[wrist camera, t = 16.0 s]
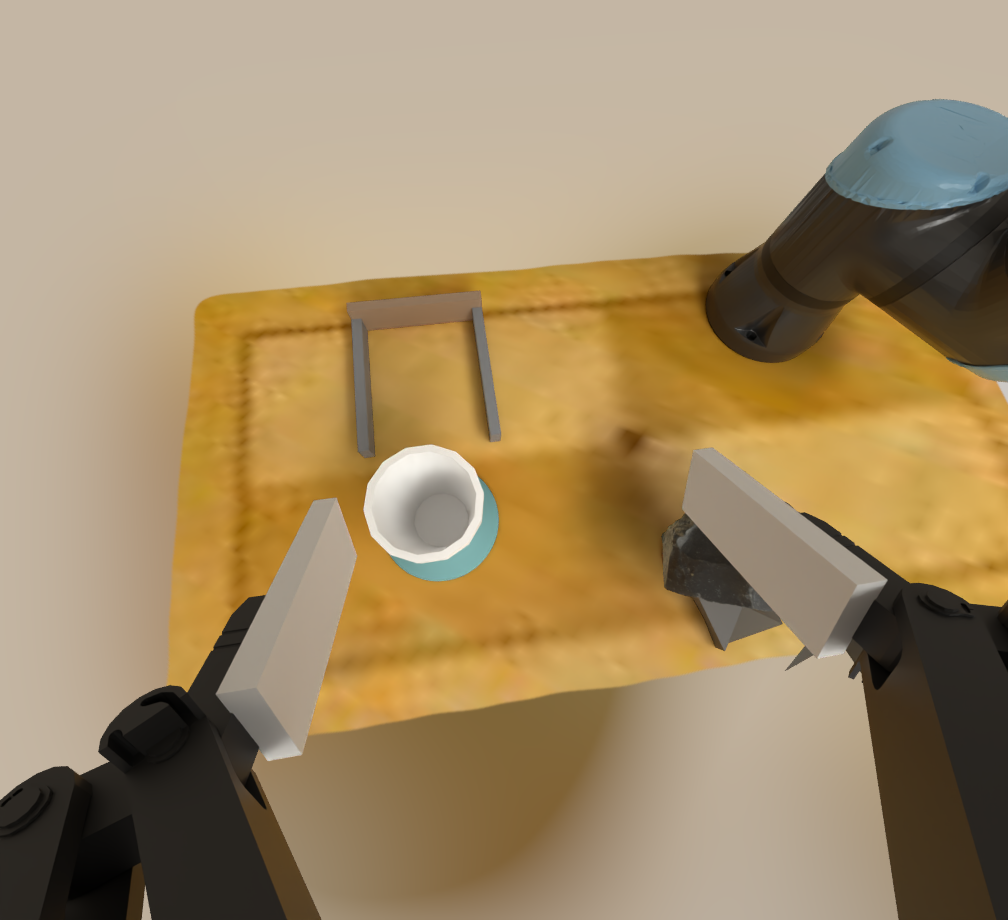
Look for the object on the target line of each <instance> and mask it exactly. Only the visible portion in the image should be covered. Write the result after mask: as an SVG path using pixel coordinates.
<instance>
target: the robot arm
mask: <svg viewBox="0 0 1008 920" xmlns="http://www.w3.org/2000/svg"><path fill="white" fill-rule="evenodd" d="M859 294H861V295H862V296H864V297H865V298H867V299H868V300H869V301H871V302H872V303H874V304H875V305H877V306H878V307H879V308H881V309H882V310H883V311H885V312H886V313H887V314H889V315H890V316H891V317H893V318H894V319H895V320H897V321H898V322H899V323H901V324H902V325H903V326H905V327H906V328H908V329H909V330H910V331H912V332H913V333H914V334H916V335H917V336H918V337H920V338H921V339H922V340H924V341H925V342H926V343H928V344H929V345H930V346H932V347H933V348H934V349H936V350H937V351H939V352H940V353H941V354H943V355H944V356H945V357H946V358H947V359H948V360H949V361H950V362H952V363H954V364H957V365H959V366H962V367H965V368H966V369H968V370H970V371H971V372H973V373H975V374H976V375H978V376H980V377H982V378H985V379H988V380H992V381H999V382H1008V118H1007V117H1005V116H1003V115H1001V114H1000V113H998V112H995V111H993V110H990V109H988V108H985V107H982V106H979V105H975V104H972V103H967V102H961V101H956V100H944V99H935V100H934V99H933V100H924V101H916V102H911V103H907V104H904V105H900V106H898V107H895V108H893V109H891V110H889V111H887V112H885V113H884V114H882V115H880V116H879V117H877V118H876V119H875V120H873V121H872V122H871V123H870V124H869V125H868V126H867V127H866V128H865V129H864V130H863V131H862V132H861V133H860V134H859V135H858V137H857V138H856V139H855V140H854V141H853V142H852V143H851V144H850V145H849V146H848V147H847V148H846V149H845V150H844V151H843V152H842V153H840V154H839V155H838V156H837V157H835V158H834V160H833V161H832V162H831V163H830V165H829V166H828V167H827V169H826V173H825V174H824V176H823V177H822V178H821V179H820V180H819V181H818V182H817V183H816V185H815V186H814V187H813V188H812V189H811V190H810V191H809V193H808V194H807V195H806V196H805V197H804V198H803V199H802V201H801V202H800V203H799V204H798V205H797V206H796V207H795V208H794V210H793V211H792V212H791V213H790V214H789V216H787V218H786V219H785V220H784V221H783V222H782V223H781V225H780V226H779V227H778V228H777V229H776V230H775V232H774V233H773V234H772V235H771V236H770V237H769V238H768V240H767V241H766V242H765V243H763V244H761V245H760V246H758V247H757V248H755V249H754V250H752V251H751V252H749V253H748V254H746V255H744V256H743V257H741V258H740V259H738V260H737V261H735V262H734V263H732V264H731V265H729V266H728V267H727V268H726V269H725V270H724V271H723V272H722V273H721V274H720V275H719V277H718V278H717V279H716V280H715V282H714V283H713V284H712V286H711V287H710V289H709V292H708V295H707V299H706V311H707V316H708V319H709V322H710V324H711V326H712V328H713V330H714V331H715V333H716V334H717V336H718V337H719V338H720V339H721V340H722V341H723V342H724V343H725V344H726V345H727V346H728V347H730V348H731V349H732V350H734V351H735V352H737V353H739V354H740V355H742V356H745V357H747V358H749V359H752V360H756V361H760V362H769V363H776V362H783V361H787V360H790V359H793V358H795V357H797V356H798V355H800V354H801V353H803V352H804V351H806V350H807V349H809V348H810V347H811V346H813V345H814V344H815V343H816V342H817V341H818V340H819V339H820V338H821V336H822V335H823V333H824V331H825V330H826V329H827V328H828V326H829V325H830V324H831V322H832V321H833V320H834V319H835V317H836V316H837V315H838V313H839V312H840V310H841V309H842V308H843V306H844V305H845V304H847V303H848V302H850V301H851V300H852V299H854V298H855V297H856V296H858V295H859ZM682 510H683V511H684V512H685V513H686V514H687V515H688V516H689V517H690V519H691V520H692V521H693V522H694V523H695V524H696V525H697V526H698V527H699V529H700V530H701V531H702V532H703V533H704V534H705V535H706V536H707V537H708V539H709V540H710V541H711V542H712V543H713V544H714V545H715V546H716V547H717V549H718V550H719V551H720V552H721V553H722V554H723V555H724V556H725V557H726V559H727V560H728V561H729V562H730V563H731V564H732V565H733V566H734V567H735V569H736V570H737V571H738V572H739V573H740V574H741V575H742V576H743V577H744V579H745V580H746V581H747V582H748V583H749V584H750V585H751V586H752V587H753V589H754V590H755V591H756V592H757V593H758V594H759V595H760V596H761V597H762V599H763V600H764V601H765V602H766V603H767V604H768V605H769V606H770V607H771V609H772V610H773V611H774V612H775V613H776V614H777V615H778V616H779V617H780V619H781V620H782V621H783V622H784V623H785V624H786V625H787V626H788V627H789V629H790V630H791V631H792V632H793V633H794V634H795V635H796V636H797V637H798V639H799V640H800V641H801V642H802V643H803V644H804V645H805V646H806V647H807V649H808V650H809V651H810V652H811V653H812V654H813V655H814V656H815V657H816V658H817V659H818V658H824V657H828V656H834V655H840V654H844V652H845V650H846V649H847V647H848V645H849V644H850V642H851V640H852V639H854V640H855V641H856V642H857V643H858V644H859V645H860V646H861V647H862V648H863V650H862V652H861V654H860V655H859V657H858V658H857V660H856V661H855V663H854V665H853V666H852V668H851V670H850V671H849V676H848V677H849V678H852V679H854V678H855V677H856V675H857V674H858V672H859V671H861V673H862V683H863V686H864V693H865V700H866V706H867V713H868V719H869V726H870V733H871V739H872V746H873V753H874V758H875V766H876V772H877V779H878V786H879V792H880V799H881V805H882V812H883V818H884V824H885V832H886V839H887V844H888V851H889V858H890V865H891V872H892V878H893V885H894V892H895V898H896V904H897V911H898V918H899V920H1008V600H1007V602H1006V603H1005V604H1004V605H1003V606H1002V607H996V606H986V605H977V604H969V603H968V602H967V601H965V600H964V599H963V598H961V597H959V596H957V595H955V594H953V593H951V592H949V591H947V590H945V589H942V588H939V587H936V586H933V585H928V584H923V583H909V582H907V581H906V580H904V579H903V578H902V577H900V576H899V575H898V574H896V573H895V572H893V571H892V570H891V569H889V568H888V567H887V566H885V565H884V564H883V563H881V562H880V561H878V560H877V559H876V558H874V557H873V556H872V555H870V554H869V553H867V552H866V551H865V550H863V549H862V548H861V547H859V546H855V544H854V542H852V541H851V540H850V539H848V538H847V537H845V536H842V535H841V533H840V532H839V531H837V530H836V529H834V528H833V527H832V526H830V525H829V524H828V523H826V522H825V521H822V520H820V519H818V518H816V517H814V516H812V515H809V514H807V513H805V512H804V513H798V512H797V511H796V510H795V509H793V508H792V507H791V506H789V505H788V504H787V503H785V502H784V501H783V500H781V499H780V498H779V497H777V496H776V495H775V494H773V493H772V492H771V491H769V490H768V489H767V488H765V487H764V486H763V485H761V484H760V483H759V482H757V481H756V480H755V479H754V478H752V477H751V476H750V475H748V474H747V473H746V472H744V471H743V470H742V469H740V468H739V467H738V466H736V465H735V464H734V463H732V462H731V461H730V460H728V459H727V458H726V457H724V456H723V455H722V454H720V453H719V452H718V451H716V450H715V449H714V448H705V449H698V450H693V455H692V460H691V465H690V470H689V475H688V480H687V485H686V490H685V495H684V500H683V505H682ZM356 558H357V555H356V552H355V549H354V546H353V543H352V540H351V538H350V535H349V532H348V529H347V526H346V523H345V521H344V518H343V515H342V512H341V509H340V506H339V503H338V501H337V498H330V499H322V500H315V501H313V503H312V505H311V507H310V509H309V511H308V513H307V515H306V517H305V519H304V521H303V523H302V525H301V527H300V529H299V531H298V533H297V535H296V537H295V539H294V541H293V543H292V545H291V547H290V549H289V551H288V553H287V555H286V557H285V559H284V561H283V562H282V564H281V566H280V568H279V570H278V572H277V574H276V576H275V578H274V580H273V582H272V584H271V586H270V588H269V590H268V592H267V594H266V595H263V596H256V597H250V598H248V599H247V600H246V601H245V602H244V603H243V604H242V605H241V606H240V607H239V608H238V609H237V610H236V611H235V612H234V613H233V614H232V615H231V617H230V619H229V621H228V622H227V624H226V626H225V628H224V629H223V631H222V635H221V636H219V638H218V640H217V642H216V643H215V645H214V650H213V651H211V652H210V654H209V656H208V657H207V659H206V661H205V663H204V664H203V666H202V668H201V670H200V671H199V673H198V675H197V677H196V678H195V680H194V682H193V684H192V685H191V687H190V689H189V691H188V692H186V691H185V690H184V689H183V688H182V687H180V686H171V685H169V686H166V687H162V688H158V689H155V690H153V691H151V692H149V693H147V694H145V695H143V696H141V697H139V698H138V699H137V700H135V701H134V702H133V703H131V704H130V705H129V706H127V707H126V708H125V709H123V710H122V712H120V714H119V715H118V716H117V717H116V718H115V719H114V720H113V721H112V722H111V723H110V724H109V726H108V728H107V729H106V731H105V733H104V734H103V736H102V738H101V740H100V745H99V751H98V752H99V753H100V754H101V755H102V756H104V757H105V758H106V759H107V760H109V761H110V762H108V763H106V764H103V765H101V766H99V767H97V768H95V769H92V770H90V771H88V772H86V773H84V774H82V775H78V774H77V773H76V772H74V771H73V770H72V769H70V768H69V767H68V766H61V767H53V768H50V769H48V770H45V771H42V772H40V773H37V774H36V775H34V776H32V777H31V778H29V779H28V780H26V781H24V782H23V783H21V784H20V785H18V786H16V787H15V788H14V789H13V790H12V791H11V792H9V793H8V794H7V795H6V796H5V797H3V799H1V800H0V920H141V919H142V909H143V900H144V891H145V886H146V891H147V896H148V902H149V907H150V913H151V918H152V920H321V917H320V916H319V913H318V911H317V909H316V906H315V904H314V902H313V900H312V898H311V895H310V893H309V891H308V889H307V886H306V884H305V882H304V880H303V877H302V875H301V873H300V871H299V869H298V867H297V864H296V862H295V860H294V857H293V855H292V853H291V851H290V849H289V847H288V844H287V842H286V840H285V837H284V835H283V833H282V831H281V829H280V826H279V824H278V822H277V820H276V818H275V815H274V813H273V811H272V809H271V806H270V804H269V802H268V800H267V797H266V795H265V793H264V791H263V789H262V787H261V784H260V782H259V780H258V778H257V775H256V773H255V772H254V771H253V770H252V766H253V763H254V760H255V758H256V755H257V752H258V750H260V751H261V753H262V754H263V755H264V756H265V758H266V759H267V760H268V761H270V760H275V759H281V758H287V757H292V756H297V755H302V753H303V749H304V745H305V742H306V738H307V735H308V731H309V728H310V724H311V721H312V717H313V713H314V710H315V706H316V703H317V699H318V695H319V692H320V688H321V684H322V681H323V677H324V674H325V670H326V666H327V663H328V659H329V656H330V652H331V648H332V645H333V641H334V638H335V634H336V630H337V627H338V623H339V620H340V616H341V612H342V609H343V605H344V601H345V598H346V594H347V591H348V587H349V583H350V580H351V576H352V573H353V569H354V565H355V562H356Z"/></svg>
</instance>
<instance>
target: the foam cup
mask: <svg viewBox="0 0 1008 920" xmlns="http://www.w3.org/2000/svg"><path fill="white" fill-rule="evenodd" d="M483 503H484V492H483V489H482V487H481V484H480V482H479V479H478V477H477V474H476V471H475V469H474V468H473V467H472V466H471V465H470V464H469V463H468V462H466V461H465V460H464V459H463V458H462V457H461V456H460V455H459V454H458V453H457V452H455V451H452V450H448V449H445V448H442V447H438V446H435V445H432V444H431V445H424V446H416V447H409V448H405V449H403V450H401V451H400V452H398V453H397V454H395V455H393V456H392V457H390V458H388V459H387V460H385V461H383V463H382V464H381V465H380V467H379V468H378V470H377V471H376V473H375V474H374V476H373V477H372V479H371V480H370V481H369V483H368V486H367V492H366V498H365V504H364V510H363V511H364V514H365V517H366V520H367V524H368V527H369V530H370V533H371V536H372V537H373V538H374V539H375V540H376V541H377V542H378V543H379V544H380V545H381V546H382V547H383V548H384V549H385V550H386V551H387V552H388V553H389V554H390V555H392V556H395V557H399V558H402V559H405V560H408V561H411V562H414V563H421V564H422V563H428V562H434V561H440V560H447V559H449V558H450V557H452V556H453V555H454V554H456V553H457V552H459V551H460V550H462V549H463V548H465V547H466V546H467V545H469V544H470V542H471V540H472V538H473V537H474V535H475V533H476V532H477V530H478V528H479V526H480V525H481V523H482V515H483Z"/></svg>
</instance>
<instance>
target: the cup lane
mask: <svg viewBox="0 0 1008 920" xmlns="http://www.w3.org/2000/svg"><path fill="white" fill-rule="evenodd" d="M347 312H348V314H349V316H350V318H351V322H352V342H353V362H354V383H355V403H356V423H357V443H358V452H359V453H360V454H361V455H362V456H363V457H364V458H368V457H375V445H374V429H373V413H372V397H371V380H370V364H369V348H368V332H367V331H368V330H378V329H389V328H399V327H409V326H419V325H429V324H439V323H450V322H460V321H470V320H473V326H474V332H475V339H476V346H477V353H478V360H479V367H480V374H481V381H482V388H483V395H484V402H485V408H486V415H487V422H488V429H489V436H490V442H495V441H500V439H501V430H500V424H499V417H498V411H497V404H496V398H495V391H494V385H493V378H492V371H491V365H490V358H489V352H488V345H487V339H486V332H485V326H484V319H483V313H482V300H481V293H480V291H471V292H460V293H449V294H438V295H427V296H417V297H406V298H395V299H384V300H373V301H362V302H351V303H347Z"/></svg>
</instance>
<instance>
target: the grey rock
mask: <svg viewBox="0 0 1008 920" xmlns="http://www.w3.org/2000/svg"><path fill="white" fill-rule="evenodd" d="M785 503H786V502H785ZM787 504H788V503H787ZM788 505H789V504H788ZM789 506H790V505H789ZM791 507H792V506H791ZM792 508H793V507H792ZM793 509H794V508H793ZM798 513H800V512H798ZM661 537H662V543H663V553H662V559H663V575H664V587H665V588H666V589H667V590H670V591H672V592H676V593H678V594H682V595H685V596H691V597H692V598H693V599H694V601H695V603H696V605H697V607H698V609H699V610H700V612H701V614H702V616H703V618H704V619H705V622H706V624H707V627H708V629H709V632H710V634H711V637H712V639H713V642H714V644H715V647H716V648H718V649H721V650H723V651H725V650H726V647H727V645H728V643H730V642H733V641H736V640H739V639H742V638H744V637H747V636H750V635H753V634H756V633H759V632H761V631H764V630H767V629H770V628H773V627H776V626H778V625H781V624H782V622H781V620H780V617H779V616H778V615H777V614H776V613H775V612H774V611H773V610H772V609H771V607H770V606H769V605H768V604H767V603H766V602H765V601H764V600H763V599H762V597H761V596H760V595H759V594H758V593H757V592H756V591H755V590H754V589H753V587H752V586H751V585H750V584H749V583H748V582H747V581H746V580H745V579H744V577H743V576H742V575H741V574H740V573H739V572H738V571H737V570H736V569H735V567H734V566H733V565H732V564H731V563H730V562H729V561H728V560H727V559H726V557H725V556H724V555H723V554H722V553H721V552H720V551H719V550H718V549H717V547H716V546H715V545H714V544H713V543H712V542H711V541H710V540H709V539H708V537H707V536H706V535H705V534H704V533H703V532H702V531H701V530H700V529H699V527H698V526H697V525H696V524H695V523H694V522H693V521H692V520H691V519H690V517H689V516H688V515H687V514H686V513H685V514H684V515H683V517H682V518H681V519H679V520H677V521H675V523H673V524H672V525H670V526H669V527H668V529H667V531H666V532H664V533H663V534H662V536H661ZM862 650H863V648H862V647H861V646H860V645H859V644H858V643H857V642H856V641H855V640H854V639H852V640H851V642H850V644H849V645H848V647H847V649H846V651H847V653H848V654H849V656H850V657H851V658H852V660H853V661H854V663H855V661H856V660H857V658H858V657H859V655H860V654H861V652H862ZM812 655H813V654H812V653H811V652H810V651H809V650H808V649H807V647H806V646H805V647H804V648H803V649H802V650H801V652H800V653H799V654H798V655H797V657H796V658H795V659H794V660H793V662H792V663H791V664H790V666H789V667H788V668H787V669H786V670H788V669H790V668H791V667H793V666H795V665H797V664H799V663H800V662H802V661H804V660H806V659H807V658H809V657H811V656H812ZM860 672H861V671H860Z"/></svg>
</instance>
